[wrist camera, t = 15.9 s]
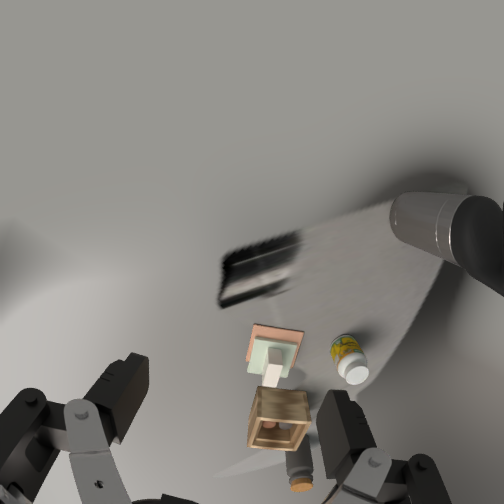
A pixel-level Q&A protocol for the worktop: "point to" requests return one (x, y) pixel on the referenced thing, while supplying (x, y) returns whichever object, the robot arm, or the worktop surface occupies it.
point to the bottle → (300, 467)
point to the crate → (278, 419)
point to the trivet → (275, 337)
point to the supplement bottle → (349, 359)
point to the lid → (271, 359)
